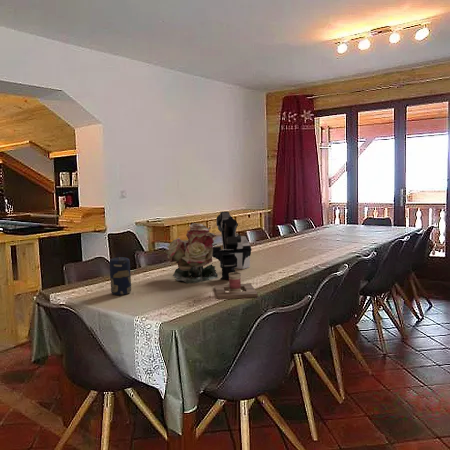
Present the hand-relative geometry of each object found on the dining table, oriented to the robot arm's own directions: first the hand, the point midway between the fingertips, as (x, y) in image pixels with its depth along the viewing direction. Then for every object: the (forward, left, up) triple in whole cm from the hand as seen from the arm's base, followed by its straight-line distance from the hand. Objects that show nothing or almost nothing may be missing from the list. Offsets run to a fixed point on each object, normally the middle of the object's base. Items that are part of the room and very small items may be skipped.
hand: (233, 266), depth 211 cm
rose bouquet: (-33, +14, -12) cm, 38 cm away
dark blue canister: (-46, -29, -12) cm, 55 cm away
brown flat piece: (+2, -3, -12) cm, 12 cm away
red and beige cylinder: (+2, -3, -12) cm, 12 cm away
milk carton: (-24, +48, -12) cm, 55 cm away
